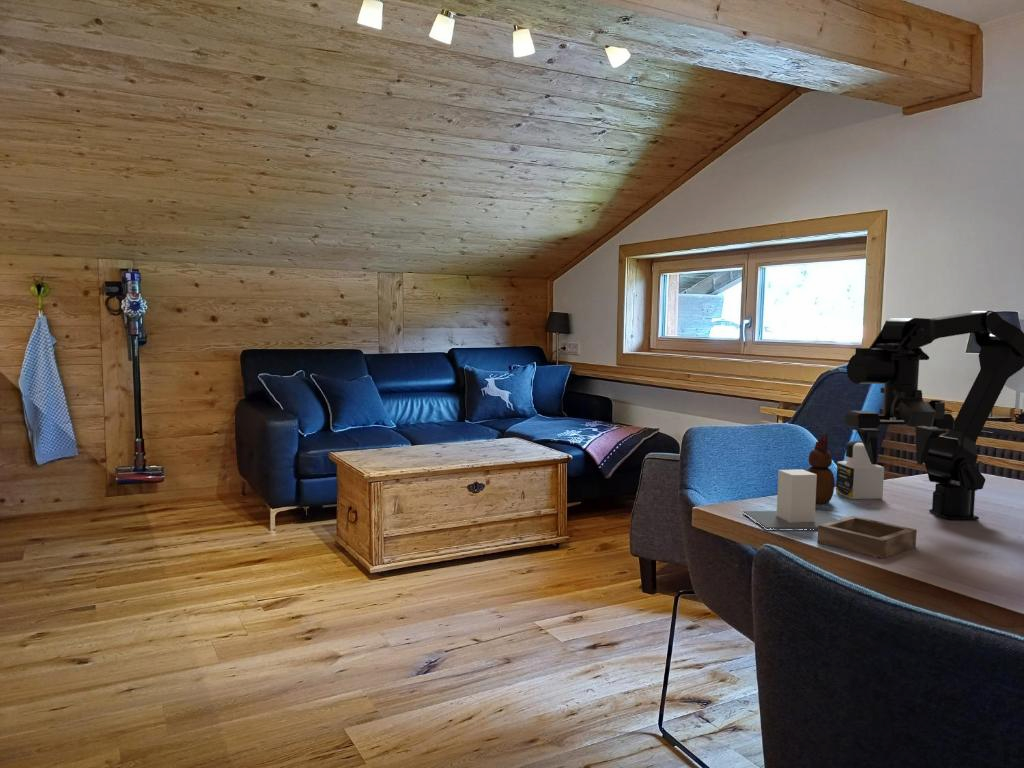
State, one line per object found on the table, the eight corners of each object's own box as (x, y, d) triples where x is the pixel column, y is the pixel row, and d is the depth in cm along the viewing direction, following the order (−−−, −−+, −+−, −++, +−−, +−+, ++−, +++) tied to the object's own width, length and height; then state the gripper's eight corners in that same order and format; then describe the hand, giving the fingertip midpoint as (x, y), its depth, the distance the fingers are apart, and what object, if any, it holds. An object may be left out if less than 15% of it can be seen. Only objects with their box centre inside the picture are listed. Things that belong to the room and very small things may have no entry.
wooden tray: (851, 531, 141) (852, 515, 141) (915, 546, 132) (916, 529, 132) (817, 542, 134) (818, 525, 134) (882, 558, 125) (883, 540, 125)
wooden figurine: (836, 506, 160) (839, 435, 159) (806, 505, 161) (809, 434, 160) (829, 499, 167) (832, 430, 166) (801, 497, 168) (804, 429, 167)
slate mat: (821, 513, 154) (821, 510, 154) (851, 530, 142) (851, 527, 142) (742, 514, 153) (743, 511, 153) (766, 530, 141) (766, 527, 141)
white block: (800, 515, 150) (802, 469, 150) (814, 521, 145) (816, 474, 145) (776, 515, 149) (778, 469, 149) (790, 522, 144) (792, 475, 144)
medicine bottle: (835, 492, 174) (837, 439, 173) (865, 492, 175) (868, 439, 174) (851, 499, 167) (854, 444, 166) (883, 499, 168) (886, 444, 167)
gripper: (876, 386, 139) (871, 472, 140) (975, 387, 140) (970, 472, 141) (845, 381, 150) (841, 461, 151) (938, 382, 151) (933, 461, 152)
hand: (896, 464), depth 149 cm, fingers open, 9 cm apart
